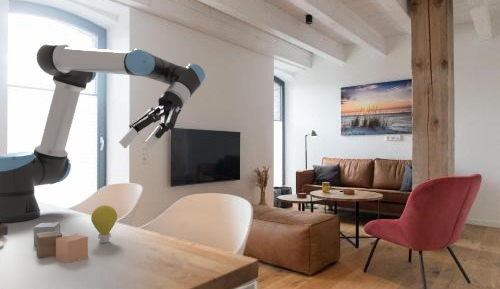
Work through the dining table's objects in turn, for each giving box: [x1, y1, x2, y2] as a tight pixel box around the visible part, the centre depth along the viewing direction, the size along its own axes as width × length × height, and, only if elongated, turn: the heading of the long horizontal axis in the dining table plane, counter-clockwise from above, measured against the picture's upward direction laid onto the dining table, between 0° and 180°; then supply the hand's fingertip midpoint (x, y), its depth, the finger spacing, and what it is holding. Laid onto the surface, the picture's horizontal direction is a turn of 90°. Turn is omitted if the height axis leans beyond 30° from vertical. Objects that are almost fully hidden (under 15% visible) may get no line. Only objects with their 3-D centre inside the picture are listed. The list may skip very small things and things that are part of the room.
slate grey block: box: [33, 221, 61, 247], centre depth 96 cm, size 5×5×5 cm
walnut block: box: [35, 230, 63, 259], centre depth 87 cm, size 5×5×5 cm
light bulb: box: [90, 204, 118, 244], centre depth 97 cm, size 7×7×10 cm
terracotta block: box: [55, 233, 89, 264], centre depth 83 cm, size 5×5×5 cm
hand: (134, 145), depth 104 cm, fingers open, 13 cm apart
